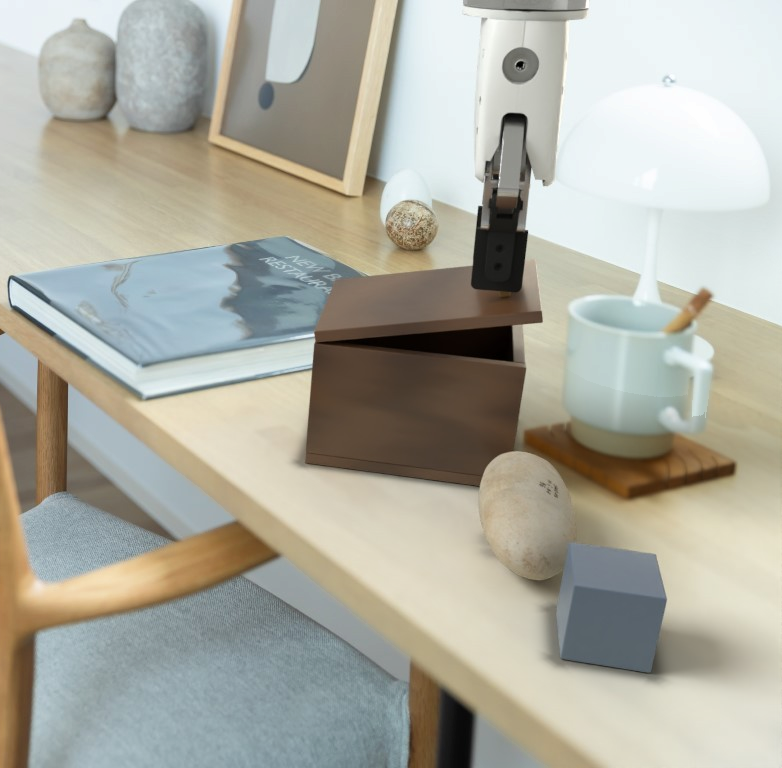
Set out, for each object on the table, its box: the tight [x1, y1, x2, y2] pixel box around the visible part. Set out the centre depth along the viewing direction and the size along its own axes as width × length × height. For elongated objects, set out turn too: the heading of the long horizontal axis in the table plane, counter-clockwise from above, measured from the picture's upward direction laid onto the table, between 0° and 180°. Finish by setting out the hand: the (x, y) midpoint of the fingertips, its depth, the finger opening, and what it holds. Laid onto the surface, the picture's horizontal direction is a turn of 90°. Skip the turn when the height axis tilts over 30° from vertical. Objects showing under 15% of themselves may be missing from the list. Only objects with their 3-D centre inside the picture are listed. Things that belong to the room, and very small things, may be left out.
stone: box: [478, 450, 577, 581], centre depth 70 cm, size 6×6×12 cm
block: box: [555, 542, 668, 674], centre depth 61 cm, size 4×4×4 cm
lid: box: [313, 224, 544, 343], centre depth 79 cm, size 14×12×5 cm
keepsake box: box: [304, 324, 527, 487], centre depth 82 cm, size 14×12×9 cm
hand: (496, 273), depth 78 cm, fingers closed on lid, 5 cm apart
